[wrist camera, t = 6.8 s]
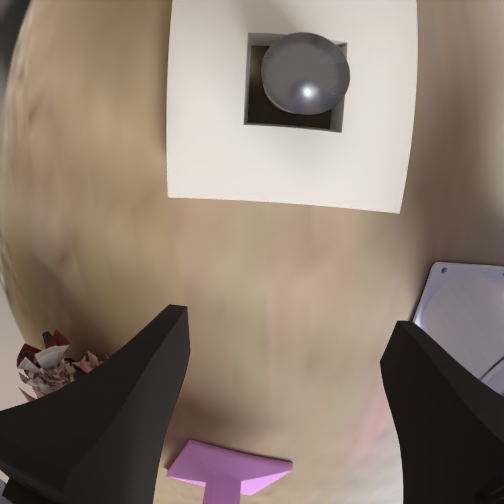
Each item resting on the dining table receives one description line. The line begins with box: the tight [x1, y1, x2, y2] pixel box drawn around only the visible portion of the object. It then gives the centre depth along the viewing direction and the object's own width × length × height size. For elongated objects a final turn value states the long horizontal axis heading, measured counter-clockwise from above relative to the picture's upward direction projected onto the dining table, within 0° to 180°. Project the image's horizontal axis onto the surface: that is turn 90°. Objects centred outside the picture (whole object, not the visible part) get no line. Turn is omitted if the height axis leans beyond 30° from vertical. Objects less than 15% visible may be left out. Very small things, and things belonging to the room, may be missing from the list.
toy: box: [17, 330, 109, 402], centre depth 22 cm, size 12×11×15 cm
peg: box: [261, 32, 350, 115], centre depth 12 cm, size 3×3×7 cm
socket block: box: [167, 0, 418, 214], centre depth 14 cm, size 12×12×3 cm
